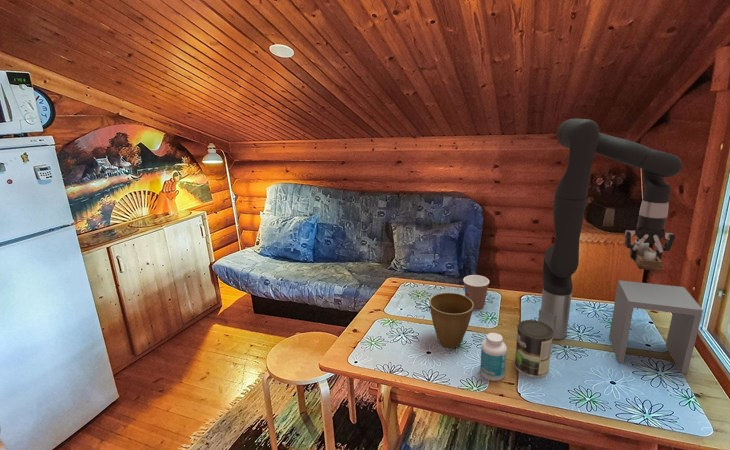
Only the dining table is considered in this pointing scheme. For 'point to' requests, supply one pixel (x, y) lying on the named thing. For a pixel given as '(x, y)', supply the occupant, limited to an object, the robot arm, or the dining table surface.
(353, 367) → the dining table surface
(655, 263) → the tray
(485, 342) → the pill bottle
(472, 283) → the coffee cup
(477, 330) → the dining table surface
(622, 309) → the grey hollow frame
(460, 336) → the plant pot
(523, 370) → the coffee can
